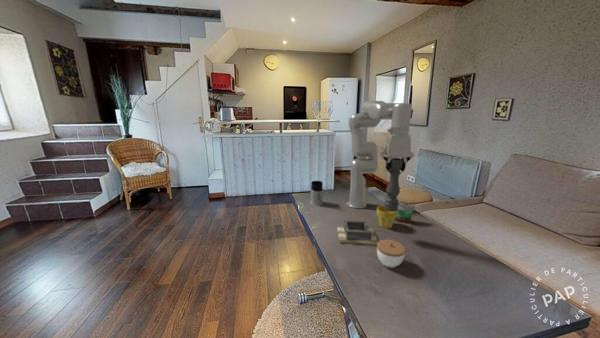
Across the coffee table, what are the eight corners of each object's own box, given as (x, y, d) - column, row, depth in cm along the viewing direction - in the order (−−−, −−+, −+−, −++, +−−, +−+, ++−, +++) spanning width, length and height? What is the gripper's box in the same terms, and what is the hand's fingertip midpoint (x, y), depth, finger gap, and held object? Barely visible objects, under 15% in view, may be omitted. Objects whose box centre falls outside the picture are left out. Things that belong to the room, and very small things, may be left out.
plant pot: (374, 220, 131) (375, 204, 129) (393, 222, 129) (395, 206, 127) (376, 229, 121) (378, 212, 119) (397, 231, 119) (399, 213, 117)
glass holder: (316, 199, 162) (316, 179, 158) (331, 205, 152) (332, 184, 148) (307, 203, 156) (307, 182, 152) (322, 209, 146) (323, 187, 142)
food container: (390, 221, 130) (391, 205, 127) (390, 217, 135) (392, 201, 133) (414, 225, 125) (416, 208, 123) (413, 220, 131) (415, 204, 128)
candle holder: (397, 207, 113) (403, 158, 106) (398, 212, 107) (404, 160, 101) (383, 205, 114) (389, 157, 108) (384, 210, 109) (389, 159, 103)
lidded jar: (404, 274, 87) (407, 253, 85) (375, 268, 91) (376, 247, 88) (402, 258, 97) (404, 238, 95) (376, 253, 100) (377, 233, 98)
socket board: (337, 229, 121) (337, 219, 119) (371, 230, 120) (372, 221, 118) (339, 242, 108) (340, 232, 107) (378, 244, 107) (379, 234, 106)
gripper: (382, 132, 98) (378, 172, 103) (423, 132, 97) (417, 173, 102) (377, 130, 105) (374, 168, 110) (415, 131, 104) (410, 169, 109)
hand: (395, 170), depth 106 cm, fingers closed on candle holder, 5 cm apart
